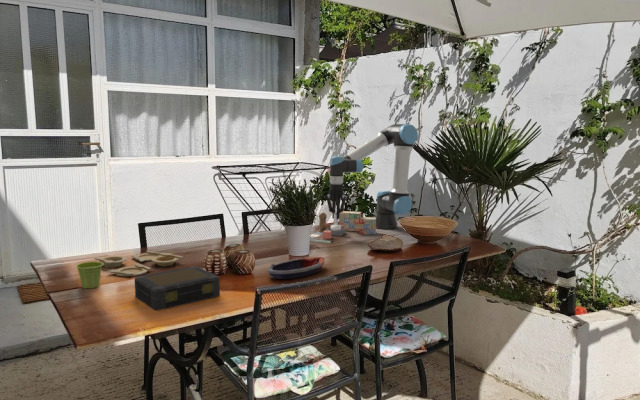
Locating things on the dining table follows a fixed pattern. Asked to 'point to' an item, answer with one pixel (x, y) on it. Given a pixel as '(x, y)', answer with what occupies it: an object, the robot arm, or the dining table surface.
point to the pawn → (322, 222)
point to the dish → (296, 268)
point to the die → (327, 234)
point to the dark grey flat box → (176, 287)
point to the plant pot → (90, 274)
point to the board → (334, 233)
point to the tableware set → (138, 268)
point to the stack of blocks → (357, 222)
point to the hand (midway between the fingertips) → (335, 224)
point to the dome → (336, 227)
